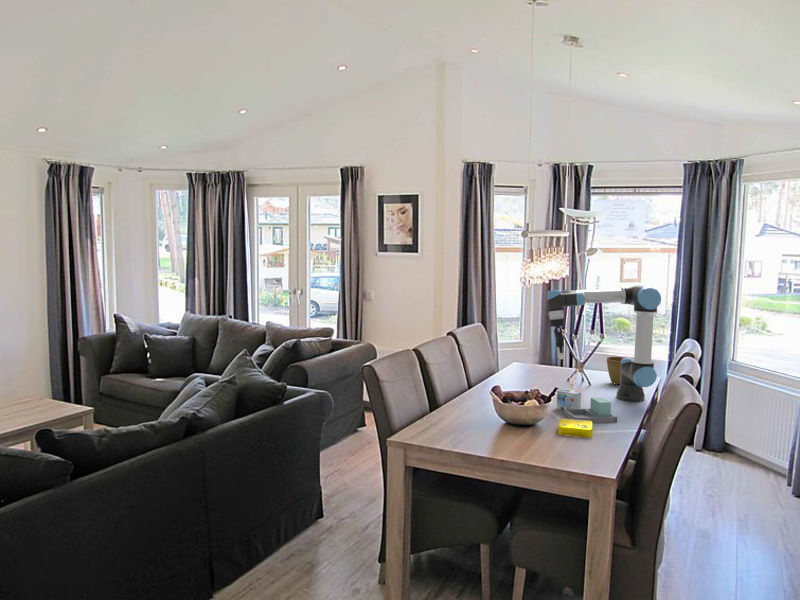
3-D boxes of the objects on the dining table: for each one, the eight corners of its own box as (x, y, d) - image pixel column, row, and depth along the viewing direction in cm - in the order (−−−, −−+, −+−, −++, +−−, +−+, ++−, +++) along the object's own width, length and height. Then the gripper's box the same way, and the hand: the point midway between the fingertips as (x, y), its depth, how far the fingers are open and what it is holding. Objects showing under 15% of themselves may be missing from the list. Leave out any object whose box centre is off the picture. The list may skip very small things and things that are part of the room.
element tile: (592, 429, 287) (592, 419, 286) (592, 439, 272) (592, 428, 272) (559, 426, 291) (559, 416, 291) (557, 435, 277) (558, 425, 277)
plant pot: (601, 383, 382) (602, 358, 381) (613, 380, 392) (614, 355, 391) (623, 387, 371) (624, 361, 370) (635, 384, 381) (636, 359, 380)
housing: (602, 414, 311) (602, 408, 311) (616, 423, 295) (617, 417, 295) (563, 415, 309) (563, 409, 309) (575, 424, 293) (575, 417, 293)
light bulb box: (556, 410, 319) (556, 390, 318) (562, 407, 324) (563, 388, 323) (574, 414, 311) (575, 393, 310) (581, 411, 316) (581, 391, 315)
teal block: (601, 414, 308) (602, 397, 307) (610, 420, 298) (611, 402, 297) (590, 414, 307) (590, 397, 306) (598, 420, 297) (599, 402, 297)
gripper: (548, 319, 338) (552, 357, 337) (550, 319, 314) (555, 360, 313) (562, 318, 337) (566, 356, 335) (565, 317, 312) (570, 359, 311)
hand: (561, 358), depth 324 cm, fingers open, 13 cm apart
